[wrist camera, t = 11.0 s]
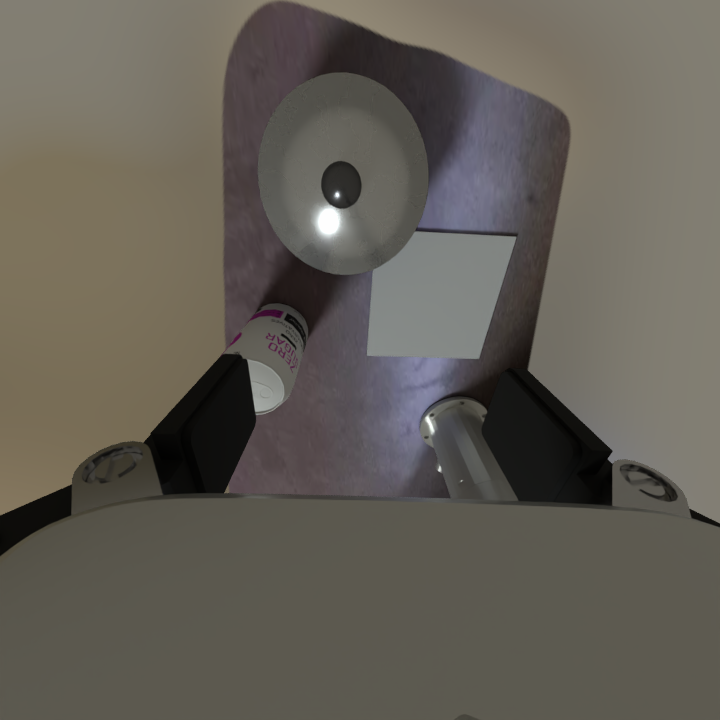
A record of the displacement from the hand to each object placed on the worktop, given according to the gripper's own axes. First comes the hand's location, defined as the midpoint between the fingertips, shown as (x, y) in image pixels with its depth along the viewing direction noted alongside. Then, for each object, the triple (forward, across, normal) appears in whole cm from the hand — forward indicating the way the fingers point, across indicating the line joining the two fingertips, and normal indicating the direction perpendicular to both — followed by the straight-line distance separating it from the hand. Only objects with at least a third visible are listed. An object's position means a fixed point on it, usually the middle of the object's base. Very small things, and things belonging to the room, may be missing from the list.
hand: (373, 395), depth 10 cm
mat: (+30, -11, +5) cm, 33 cm away
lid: (+23, +2, -8) cm, 25 cm away
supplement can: (+30, +11, +10) cm, 34 cm away
